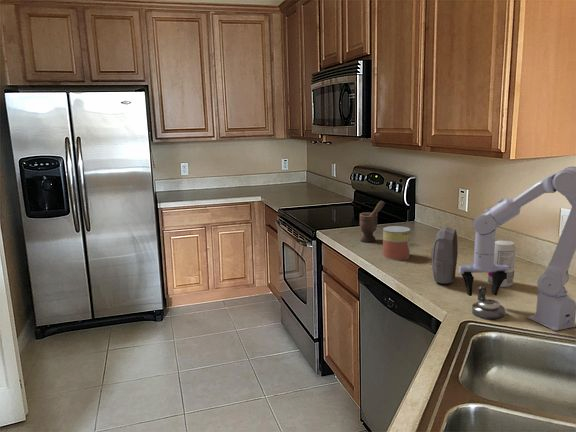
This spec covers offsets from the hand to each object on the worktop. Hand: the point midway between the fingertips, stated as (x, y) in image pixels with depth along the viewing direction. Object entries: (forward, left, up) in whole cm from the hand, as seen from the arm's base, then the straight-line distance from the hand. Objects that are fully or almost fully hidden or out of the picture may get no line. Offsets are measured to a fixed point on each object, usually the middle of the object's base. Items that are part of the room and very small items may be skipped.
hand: (481, 294), depth 147 cm
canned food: (+58, -5, -4) cm, 58 cm away
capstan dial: (-4, +1, -2) cm, 4 cm away
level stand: (-5, +2, -4) cm, 7 cm away
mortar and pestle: (+85, -8, -4) cm, 85 cm away
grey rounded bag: (+25, -4, -4) cm, 25 cm away
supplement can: (+14, -20, -4) cm, 25 cm away
